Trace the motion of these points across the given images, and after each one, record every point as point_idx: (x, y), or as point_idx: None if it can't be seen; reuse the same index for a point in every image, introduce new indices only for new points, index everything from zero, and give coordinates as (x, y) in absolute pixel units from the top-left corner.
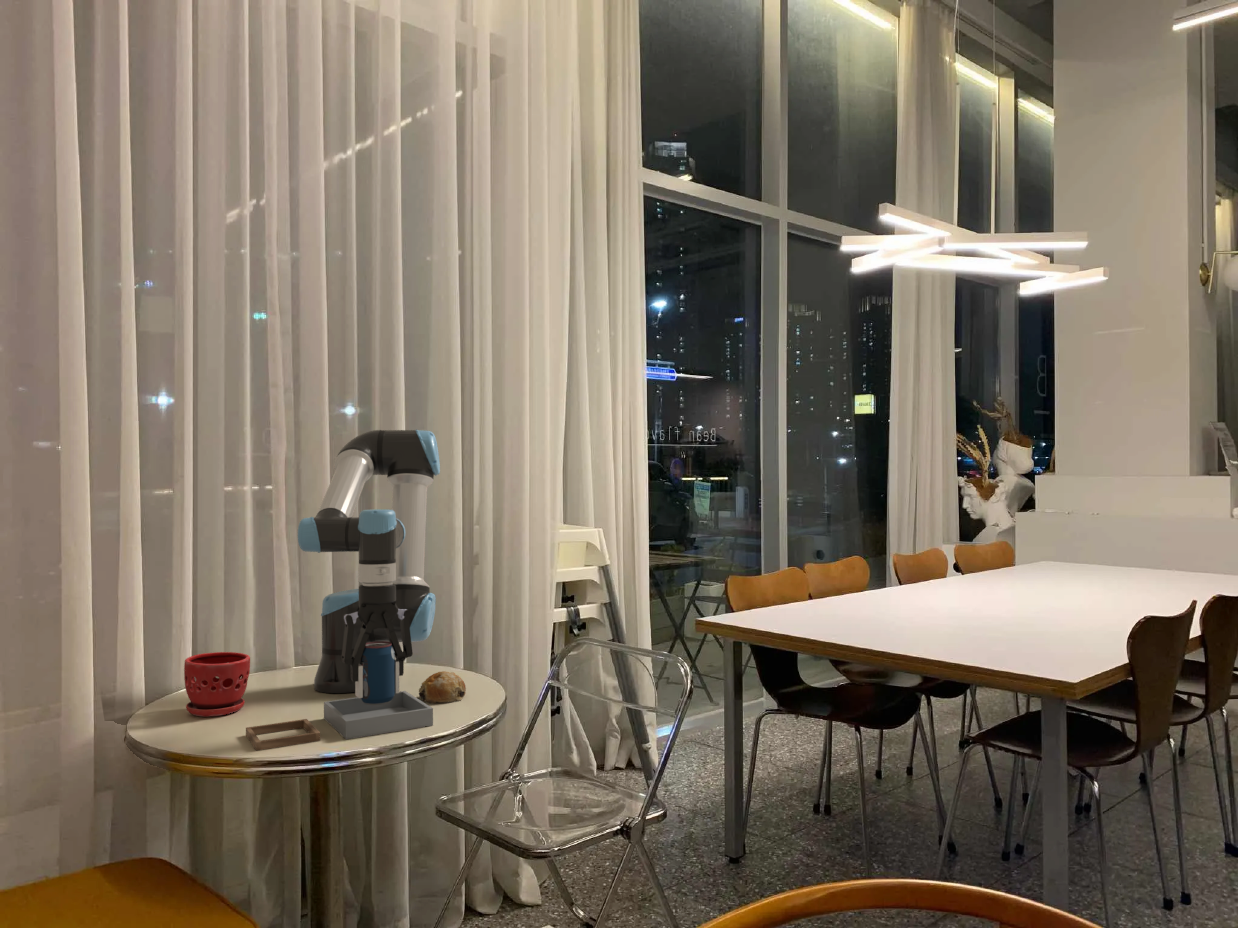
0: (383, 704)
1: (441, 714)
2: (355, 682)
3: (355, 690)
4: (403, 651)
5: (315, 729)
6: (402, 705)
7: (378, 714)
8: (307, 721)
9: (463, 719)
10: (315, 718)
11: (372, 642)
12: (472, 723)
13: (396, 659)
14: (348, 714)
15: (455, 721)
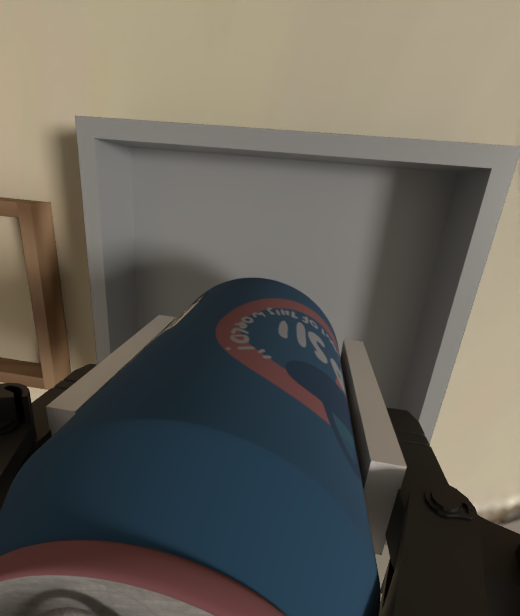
0: (366, 163)
1: (506, 369)
2: (126, 343)
3: (148, 325)
4: (512, 593)
5: (47, 351)
6: (457, 172)
7: (305, 241)
8: (31, 242)
9: (516, 465)
10: (91, 106)
11: (106, 568)
12: (503, 512)
13: (396, 508)
14: (207, 161)
15: (479, 466)
